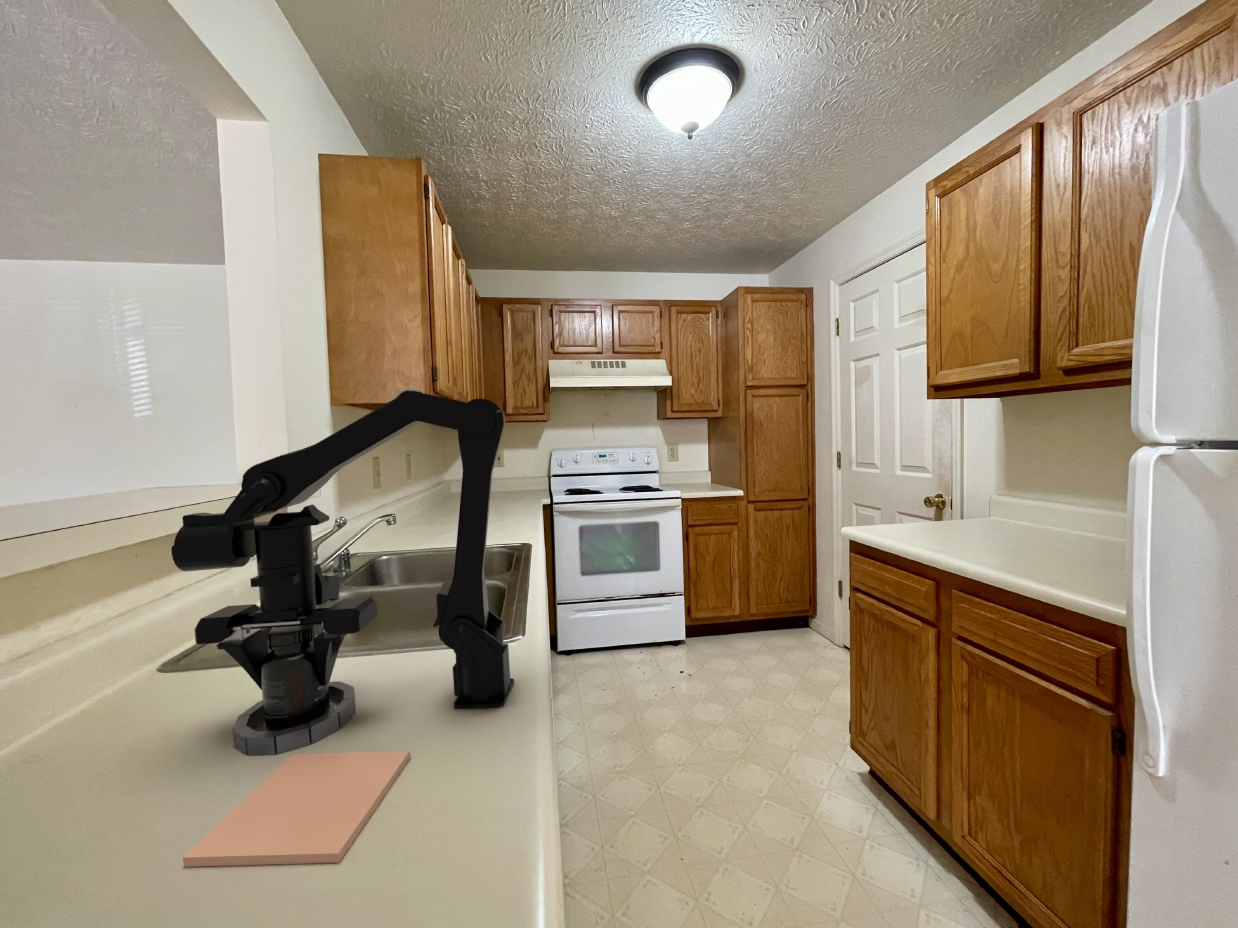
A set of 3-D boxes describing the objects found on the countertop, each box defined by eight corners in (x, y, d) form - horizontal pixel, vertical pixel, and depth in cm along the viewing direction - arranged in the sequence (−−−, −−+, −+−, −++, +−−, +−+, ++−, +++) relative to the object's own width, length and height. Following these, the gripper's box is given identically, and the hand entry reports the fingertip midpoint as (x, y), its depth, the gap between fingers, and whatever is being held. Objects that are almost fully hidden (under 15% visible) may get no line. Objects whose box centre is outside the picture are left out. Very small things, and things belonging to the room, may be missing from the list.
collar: (373, 694, 66) (372, 680, 66) (315, 753, 54) (314, 735, 54) (285, 697, 67) (284, 683, 67) (207, 756, 54) (205, 739, 54)
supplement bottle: (338, 719, 60) (330, 625, 60) (272, 746, 55) (263, 644, 55) (322, 700, 65) (315, 613, 65) (260, 723, 60) (252, 629, 60)
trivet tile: (410, 757, 52) (409, 750, 52) (339, 862, 39) (338, 853, 39) (292, 761, 53) (292, 754, 53) (183, 866, 40) (182, 857, 40)
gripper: (390, 544, 68) (398, 652, 69) (251, 552, 67) (261, 662, 67) (352, 564, 57) (362, 693, 58) (185, 574, 56) (197, 706, 56)
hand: (296, 686), depth 60 cm, fingers closed on supplement bottle, 7 cm apart
